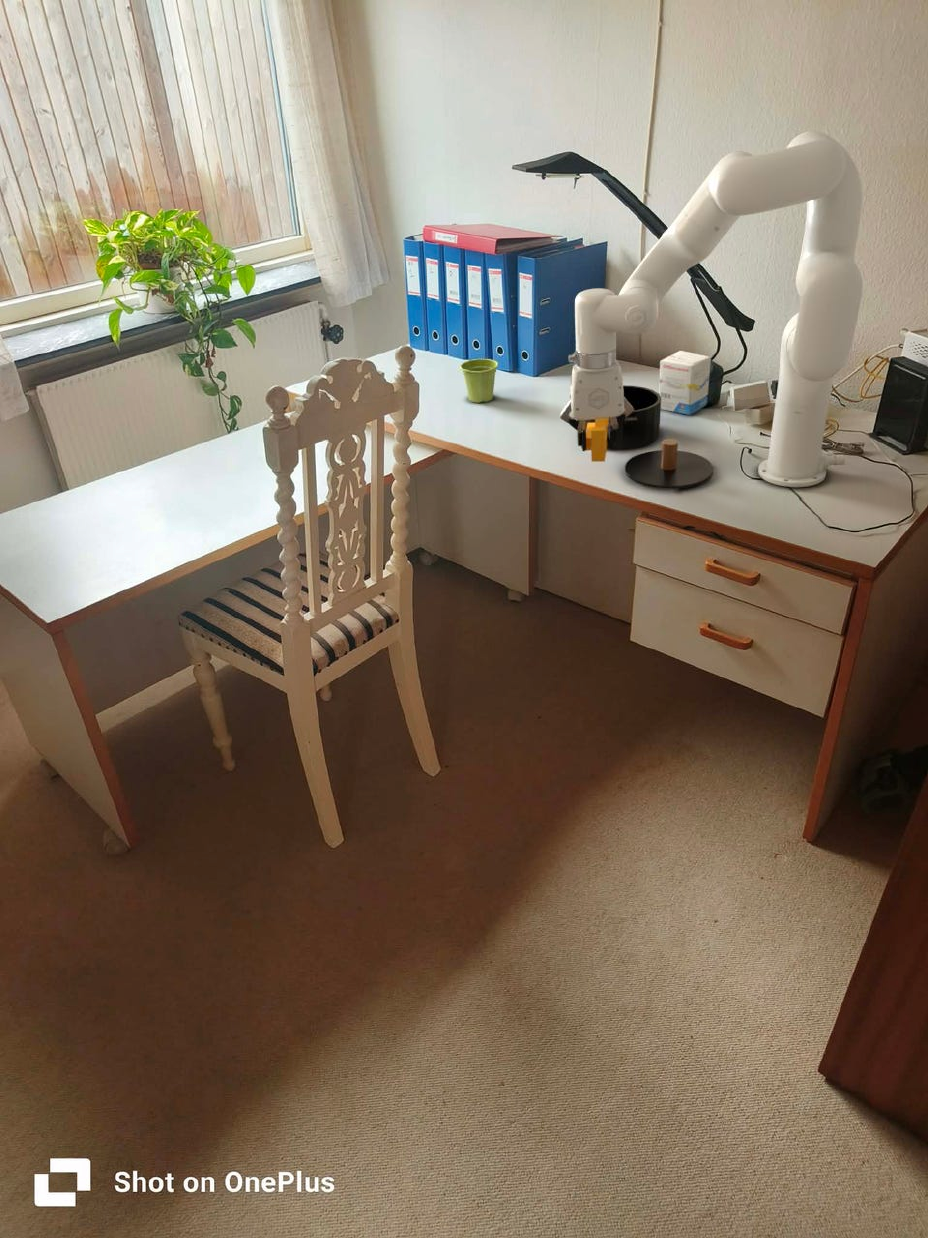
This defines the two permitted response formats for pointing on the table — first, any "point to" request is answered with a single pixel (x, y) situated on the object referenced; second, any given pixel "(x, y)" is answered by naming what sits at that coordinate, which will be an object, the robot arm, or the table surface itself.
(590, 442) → the orange stepped block
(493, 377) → the plant pot
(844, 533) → the table surface
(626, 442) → the pot
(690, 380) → the ink box
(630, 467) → the lid
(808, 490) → the table surface
